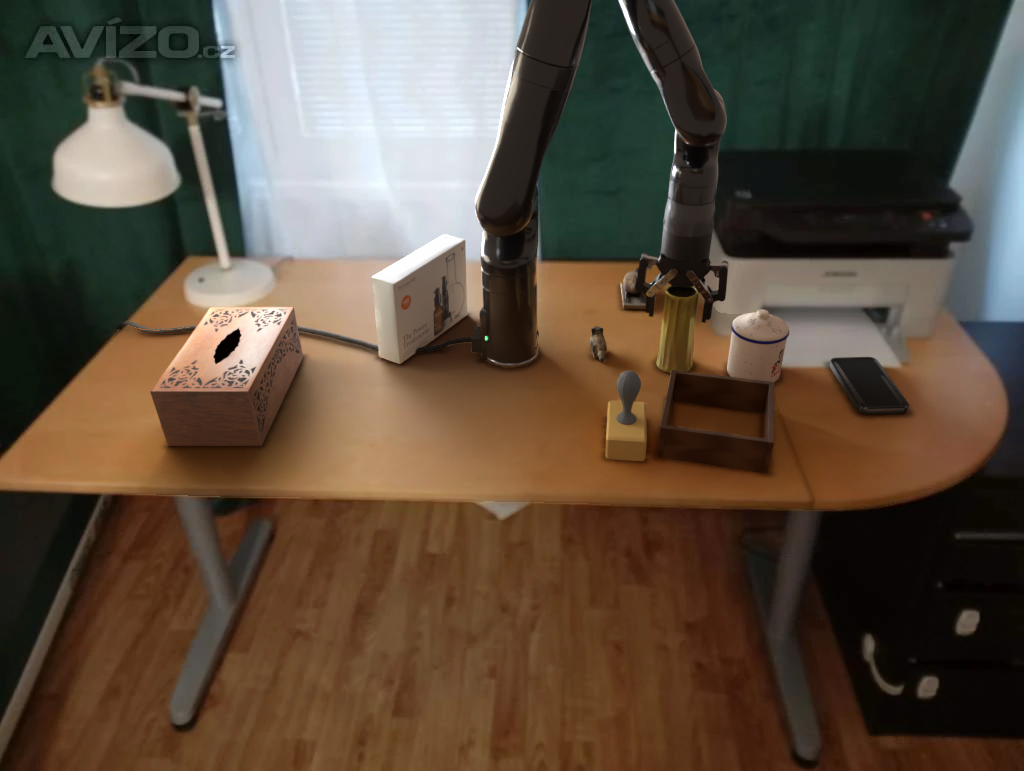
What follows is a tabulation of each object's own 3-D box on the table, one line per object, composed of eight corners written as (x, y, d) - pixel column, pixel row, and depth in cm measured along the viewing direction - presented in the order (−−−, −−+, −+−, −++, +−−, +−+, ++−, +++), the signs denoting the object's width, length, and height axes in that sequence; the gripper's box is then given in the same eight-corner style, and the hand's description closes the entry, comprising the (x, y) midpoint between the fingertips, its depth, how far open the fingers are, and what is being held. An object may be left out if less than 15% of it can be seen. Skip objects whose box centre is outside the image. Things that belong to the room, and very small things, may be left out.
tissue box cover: (261, 446, 124) (248, 391, 118) (167, 445, 124) (150, 391, 119) (303, 356, 145) (293, 306, 140) (223, 356, 146) (210, 307, 140)
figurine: (648, 320, 153) (651, 278, 148) (624, 320, 153) (626, 278, 149) (642, 286, 165) (645, 246, 160) (620, 286, 165) (622, 246, 160)
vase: (697, 361, 141) (707, 287, 133) (684, 378, 136) (692, 302, 128) (664, 352, 143) (671, 278, 136) (650, 368, 139) (656, 293, 131)
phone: (861, 409, 126) (828, 357, 138) (859, 415, 126) (827, 363, 139) (912, 407, 126) (875, 356, 138) (910, 413, 126) (874, 362, 139)
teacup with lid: (782, 390, 133) (794, 327, 126) (724, 384, 135) (733, 322, 128) (779, 352, 142) (790, 292, 136) (725, 347, 144) (733, 288, 138)
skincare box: (402, 366, 142) (392, 283, 133) (378, 358, 144) (367, 276, 135) (471, 315, 156) (466, 237, 148) (447, 308, 159) (441, 231, 150)
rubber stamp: (607, 419, 127) (610, 353, 121) (644, 421, 127) (650, 355, 120) (605, 458, 119) (608, 390, 113) (645, 461, 119) (651, 392, 112)
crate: (657, 457, 119) (659, 427, 116) (668, 398, 132) (671, 369, 129) (768, 473, 116) (774, 442, 113) (769, 411, 128) (774, 381, 125)
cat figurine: (602, 340, 146) (604, 323, 144) (609, 371, 141) (611, 354, 138) (587, 341, 146) (588, 324, 143) (593, 372, 141) (595, 355, 138)
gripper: (736, 220, 127) (722, 312, 136) (645, 211, 130) (637, 302, 139) (734, 239, 121) (720, 334, 130) (638, 230, 124) (630, 323, 133)
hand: (677, 317), depth 135 cm, fingers open, 8 cm apart
